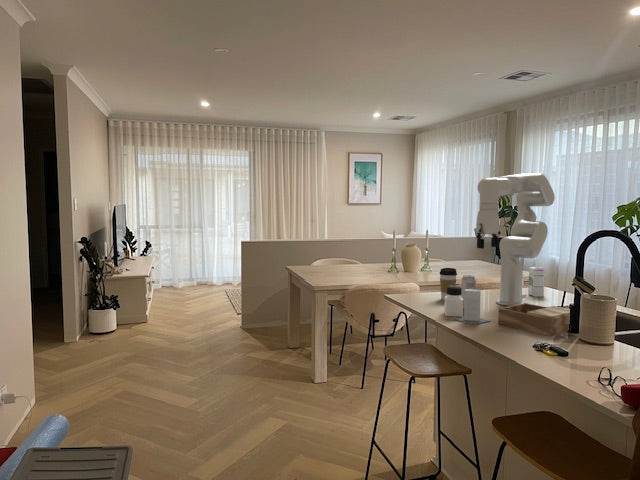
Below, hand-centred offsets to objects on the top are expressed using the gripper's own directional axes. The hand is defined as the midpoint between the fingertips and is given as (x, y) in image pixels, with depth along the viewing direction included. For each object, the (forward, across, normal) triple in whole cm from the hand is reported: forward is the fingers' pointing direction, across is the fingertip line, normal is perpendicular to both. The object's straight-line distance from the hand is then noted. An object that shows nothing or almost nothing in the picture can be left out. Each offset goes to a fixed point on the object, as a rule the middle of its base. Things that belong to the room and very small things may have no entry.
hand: (487, 247), depth 202 cm
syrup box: (+29, -53, -9) cm, 61 cm away
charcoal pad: (+28, +18, +7) cm, 34 cm away
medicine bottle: (+28, +16, -4) cm, 33 cm away
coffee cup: (+28, -7, -27) cm, 40 cm away
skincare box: (+28, +18, +7) cm, 34 cm away
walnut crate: (+28, +4, +26) cm, 38 cm away
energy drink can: (+28, +3, -7) cm, 29 cm away
